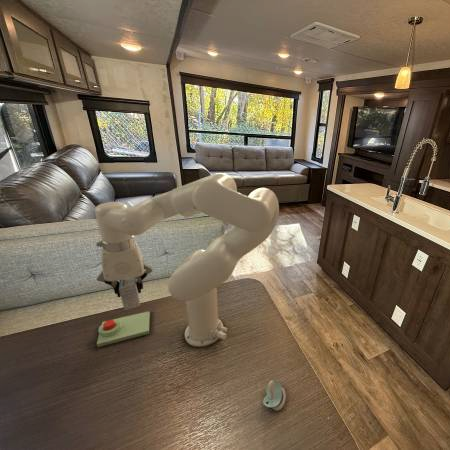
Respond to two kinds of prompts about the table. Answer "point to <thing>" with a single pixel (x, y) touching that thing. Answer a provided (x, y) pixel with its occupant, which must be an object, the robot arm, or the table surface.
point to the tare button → (109, 325)
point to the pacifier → (274, 395)
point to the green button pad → (125, 329)
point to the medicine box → (129, 293)
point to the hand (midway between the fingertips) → (130, 292)
